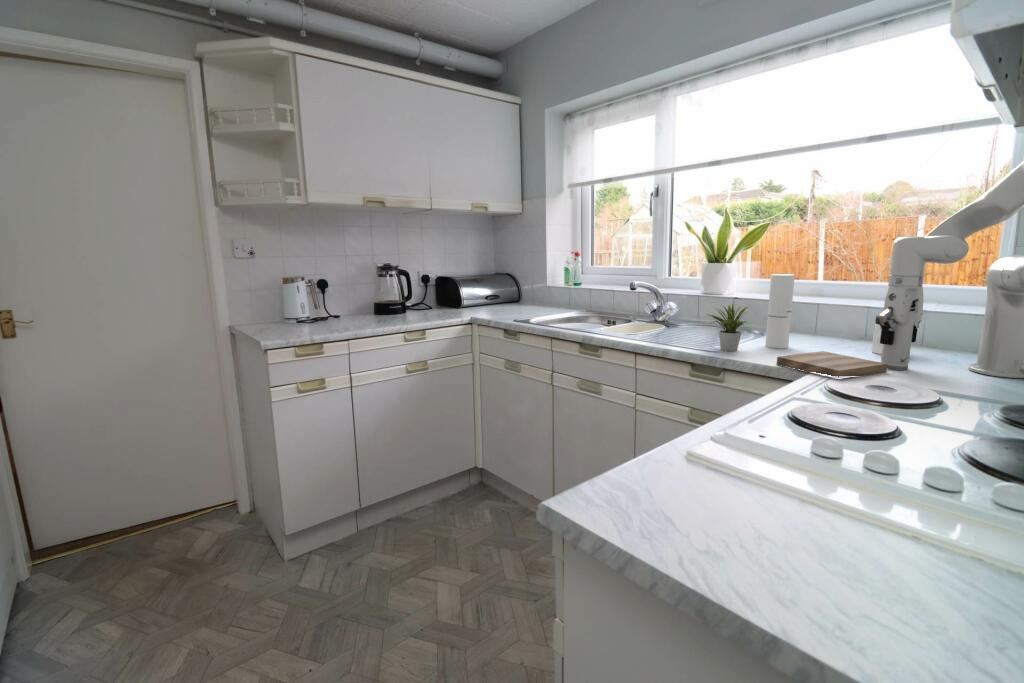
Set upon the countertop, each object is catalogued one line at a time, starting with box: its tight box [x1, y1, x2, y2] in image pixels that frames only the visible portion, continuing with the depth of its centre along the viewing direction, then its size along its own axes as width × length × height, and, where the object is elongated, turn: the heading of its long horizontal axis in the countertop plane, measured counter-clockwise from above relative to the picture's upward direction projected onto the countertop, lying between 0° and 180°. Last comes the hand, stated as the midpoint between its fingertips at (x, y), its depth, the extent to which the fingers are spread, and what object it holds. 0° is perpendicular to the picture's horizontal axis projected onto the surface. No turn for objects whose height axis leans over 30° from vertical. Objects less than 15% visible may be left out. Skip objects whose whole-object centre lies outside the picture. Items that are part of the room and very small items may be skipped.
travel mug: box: [880, 299, 918, 371], centre depth 141 cm, size 6×7×20 cm
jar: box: [871, 314, 883, 355], centre depth 161 cm, size 9×8×12 cm
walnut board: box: [776, 350, 888, 377], centre depth 143 cm, size 19×19×2 cm
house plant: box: [706, 303, 752, 352], centre depth 170 cm, size 14×14×16 cm
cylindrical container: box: [764, 273, 796, 349], centre depth 173 cm, size 7×7×25 cm
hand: (897, 342), depth 141 cm, fingers open, 9 cm apart
